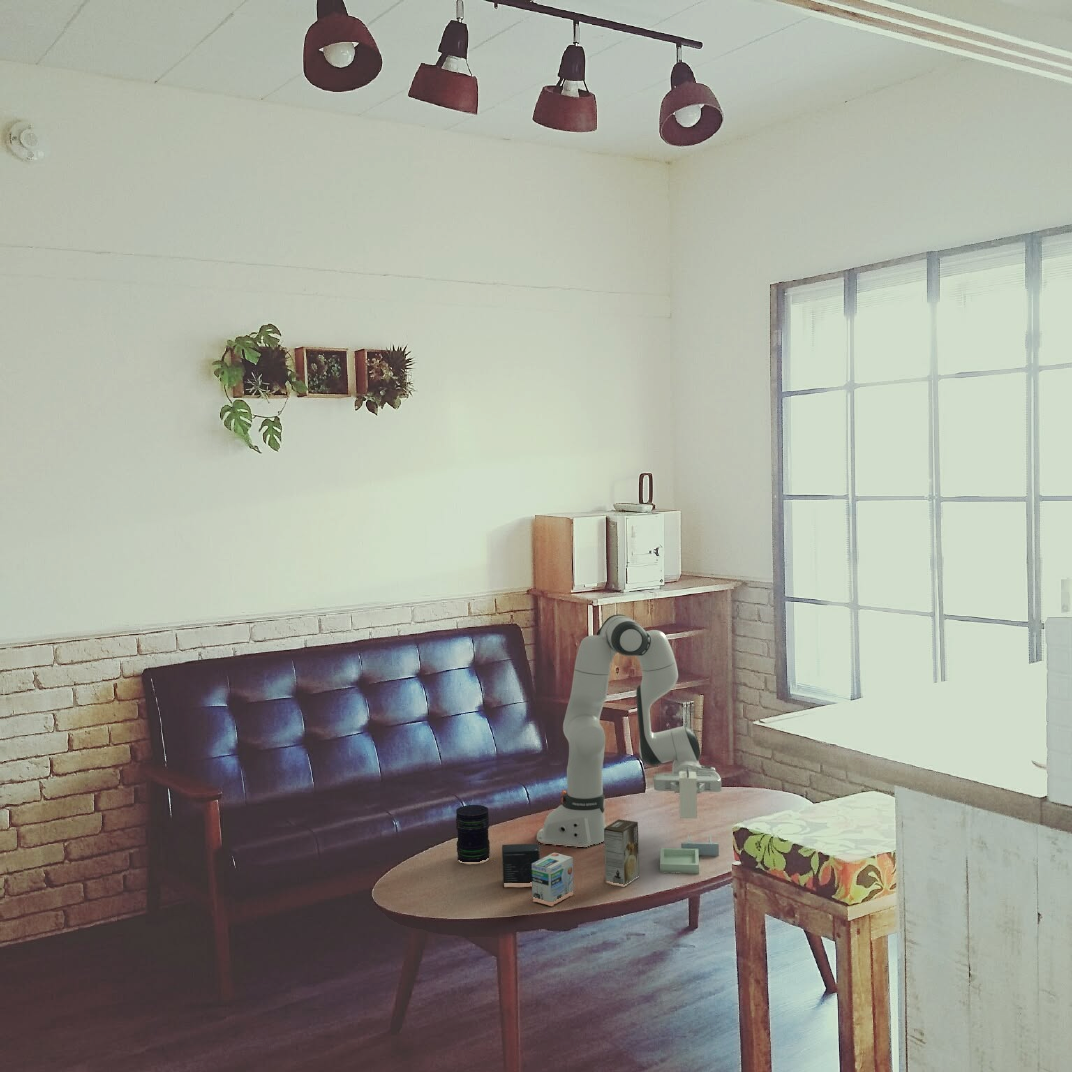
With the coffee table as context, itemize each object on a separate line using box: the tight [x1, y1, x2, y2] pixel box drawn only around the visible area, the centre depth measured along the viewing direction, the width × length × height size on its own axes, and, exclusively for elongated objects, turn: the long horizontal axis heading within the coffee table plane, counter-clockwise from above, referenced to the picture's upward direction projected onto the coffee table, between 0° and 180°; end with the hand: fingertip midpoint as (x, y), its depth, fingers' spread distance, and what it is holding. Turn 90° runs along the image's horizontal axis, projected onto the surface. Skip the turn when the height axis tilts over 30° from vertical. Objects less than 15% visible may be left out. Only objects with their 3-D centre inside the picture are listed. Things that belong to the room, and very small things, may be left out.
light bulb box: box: [531, 852, 574, 902], centre depth 304 cm, size 11×7×11 cm, turn 143°
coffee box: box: [603, 818, 640, 885], centre depth 315 cm, size 9×6×16 cm
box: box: [501, 842, 541, 884], centre depth 315 cm, size 11×7×10 cm, turn 91°
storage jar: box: [455, 804, 491, 862], centre depth 335 cm, size 10×10×15 cm
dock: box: [680, 834, 720, 857], centre depth 338 cm, size 11×8×4 cm
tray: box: [659, 847, 700, 874], centre depth 327 cm, size 11×13×2 cm
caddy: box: [678, 767, 698, 820], centre depth 333 cm, size 5×7×14 cm
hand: (687, 790), depth 332 cm, fingers closed on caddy, 5 cm apart
